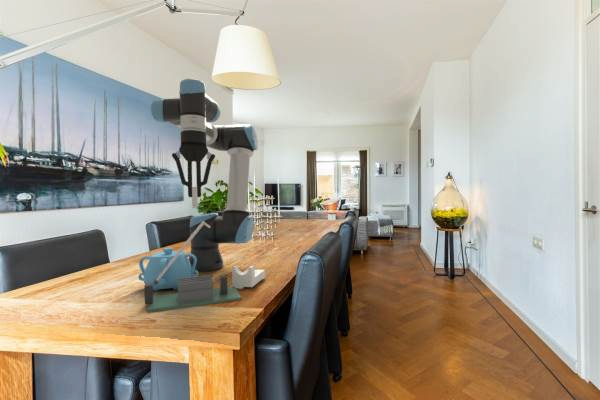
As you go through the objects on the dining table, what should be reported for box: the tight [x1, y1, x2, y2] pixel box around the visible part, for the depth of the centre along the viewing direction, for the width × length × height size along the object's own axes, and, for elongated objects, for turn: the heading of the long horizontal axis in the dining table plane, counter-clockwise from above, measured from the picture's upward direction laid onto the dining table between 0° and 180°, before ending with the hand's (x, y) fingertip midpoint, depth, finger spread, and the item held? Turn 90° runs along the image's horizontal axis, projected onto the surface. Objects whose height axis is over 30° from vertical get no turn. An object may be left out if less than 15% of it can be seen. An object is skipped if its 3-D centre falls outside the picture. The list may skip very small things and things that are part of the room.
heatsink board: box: [144, 274, 242, 313], centre depth 100 cm, size 12×27×6 cm, turn 111°
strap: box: [153, 221, 210, 284], centre depth 99 cm, size 3×23×3 cm
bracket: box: [231, 264, 266, 289], centre depth 116 cm, size 13×7×8 cm, turn 166°
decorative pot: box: [138, 247, 199, 292], centre depth 114 cm, size 16×16×14 cm
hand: (194, 207), depth 101 cm, fingers closed
